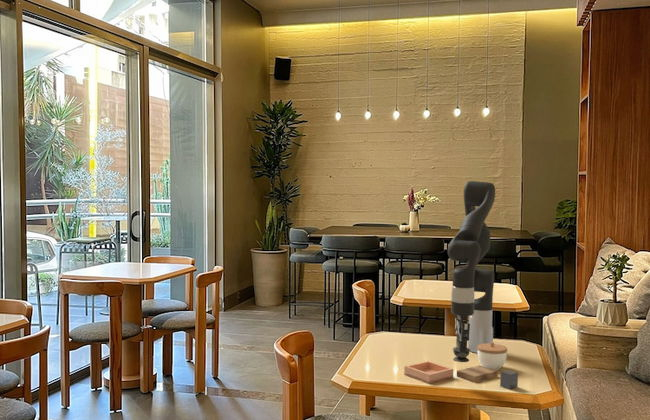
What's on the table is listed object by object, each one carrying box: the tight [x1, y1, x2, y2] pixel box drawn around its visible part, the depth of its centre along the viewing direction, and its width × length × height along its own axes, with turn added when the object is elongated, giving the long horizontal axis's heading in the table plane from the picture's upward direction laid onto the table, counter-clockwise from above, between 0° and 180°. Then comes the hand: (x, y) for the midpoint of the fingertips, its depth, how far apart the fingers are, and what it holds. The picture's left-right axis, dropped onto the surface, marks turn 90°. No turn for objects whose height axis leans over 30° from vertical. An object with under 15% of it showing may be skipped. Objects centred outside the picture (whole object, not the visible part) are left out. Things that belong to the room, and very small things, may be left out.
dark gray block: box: [499, 369, 519, 390], centre depth 213 cm, size 4×4×5 cm
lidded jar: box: [477, 341, 508, 371], centre depth 235 cm, size 11×11×9 cm
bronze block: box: [456, 365, 499, 383], centre depth 224 cm, size 12×8×2 cm, turn 125°
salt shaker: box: [452, 334, 471, 363], centre depth 214 cm, size 6×6×12 cm
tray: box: [403, 360, 454, 384], centre depth 224 cm, size 12×12×3 cm
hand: (461, 349), depth 214 cm, fingers closed on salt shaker, 6 cm apart
